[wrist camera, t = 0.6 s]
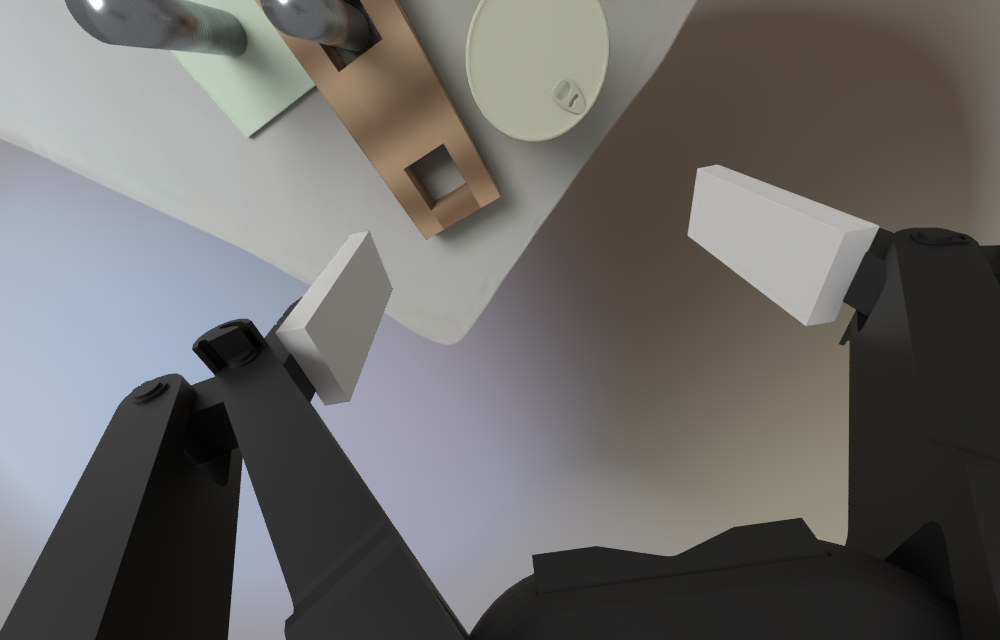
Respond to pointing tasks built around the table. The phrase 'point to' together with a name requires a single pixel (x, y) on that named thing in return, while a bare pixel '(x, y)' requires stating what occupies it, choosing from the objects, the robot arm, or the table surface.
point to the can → (537, 64)
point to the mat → (250, 70)
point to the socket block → (400, 116)
